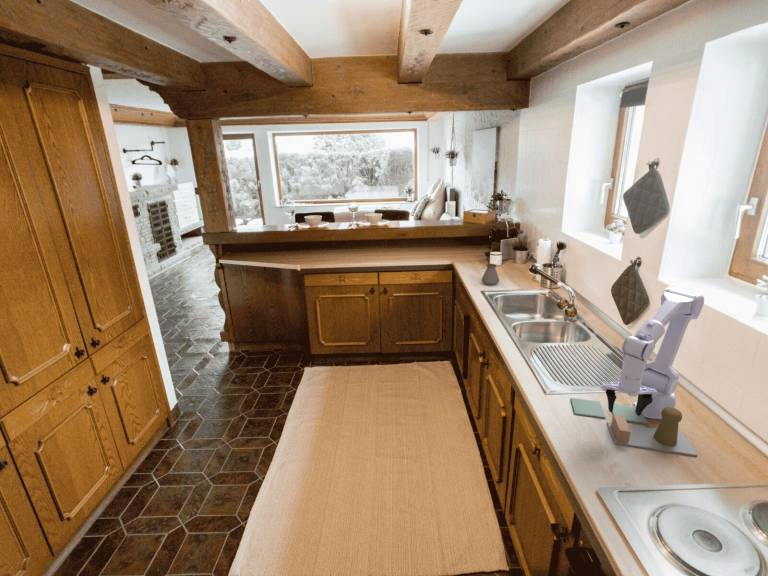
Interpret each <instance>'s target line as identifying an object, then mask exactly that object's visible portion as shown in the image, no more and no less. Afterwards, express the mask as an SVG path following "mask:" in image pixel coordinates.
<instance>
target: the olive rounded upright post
mask: <svg viewBox="0 0 768 576" xmlns="http://www.w3.org/2000/svg"><path fill="white" fill-rule="evenodd" d="M661 415H662V419H660V421H659V424H658V425H657V428H656V429H657V430H656V432H655V434H654V439H655V440H656V441H657V442H659V443H661V444H663V445H665V446H675V445H676V444H677V436H678V432H679V423H681V421H682V419H683V414H682V411H680V410H679V409H677V408H675V407H674V408H673V407H665V408H663V410H662V412H661Z"/></svg>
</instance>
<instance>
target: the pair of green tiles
mask: <svg viewBox="0 0 768 576" xmlns="http://www.w3.org/2000/svg"><path fill="white" fill-rule="evenodd" d="M570 401H571V405H572V410H573V412H574V413H573V414H574V415H576V416H582V417H591V418H597V419H606V418H607V417H606V414H605V412H604V409H603V407H602V403H601V401H600V400H599V401H598V400H590V399H584V398H575V397H571V398H570ZM635 410H636V406H635V405H629V404H622V403H615V402H614V407H613V412H611V413H612V415H613V414H615V415H623V416H624V418H625V420H626V422H627V423H628V422H629V423H633V424H634V423H635V424H641V425H648V422H647V418H646V417H644V415H643V413H641V414H642V415H643V416H641V414H640V416H637V414H636V412H635Z"/></svg>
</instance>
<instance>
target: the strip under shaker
mask: <svg viewBox="0 0 768 576" xmlns="http://www.w3.org/2000/svg"><path fill="white" fill-rule="evenodd" d="M606 425H607V427H608V430H609V433H610V436H611V438H612V441H613V443H614V445H618V446H625V447H632V448H638V449H645V450H651V451H658V452H665V453H670V454H678V455H684V456H691V457H698V452H696V450H695V448H694V446H693V445H692V444H691V442H690V440H689V438H688V437H687V436H686V434H685V432H682V431H678V436H677V444H676V445H675V446H665V445H663V444H661V443H659V442H657V441H656V440H655V439H654V434H655V432H656V430H657V428H653V427H646V426H640V425H639V426H638V425H634V424H633V425H632V424H628V422H626V420H625V418H624V416H623V415H615V414H613V413H612V419H611V421H609V422H608V421H607V422H606Z"/></svg>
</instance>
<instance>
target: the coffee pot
mask: <svg viewBox="0 0 768 576" xmlns="http://www.w3.org/2000/svg"><path fill="white" fill-rule="evenodd" d="M489 258H490V257H489V256H488V255H486V256H485V259H486V262H487V264H486V270H485V272H484V273H483V276H482V277H481V282H482V283H483V284H484V285H486V286H492V287H493V286H496V285H497V284H499V283H500V277H499V275H498V272H497V269H496V268H497V266H498V264H495V263H490V259H489Z"/></svg>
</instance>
